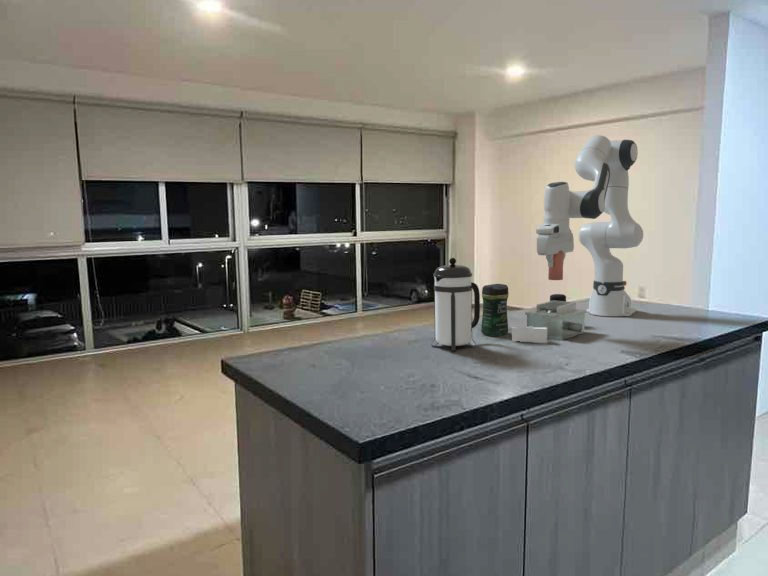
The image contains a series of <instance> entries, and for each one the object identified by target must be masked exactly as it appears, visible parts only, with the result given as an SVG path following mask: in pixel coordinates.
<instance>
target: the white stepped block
mask: <svg viewBox="0 0 768 576" xmlns="http://www.w3.org/2000/svg"><path fill="white" fill-rule="evenodd" d="M511 341H512V343H513V342H515V343H517V342H516V341H520V342H521V343H523V342H525V343H532V344H534V343H536V344H537V343H539V344H548V338H547V328H546V327H533V326H529V327H527V326H511Z"/></svg>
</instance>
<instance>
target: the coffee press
mask: <svg viewBox="0 0 768 576" xmlns="http://www.w3.org/2000/svg"><path fill="white" fill-rule="evenodd" d="M448 262H449V264H447V265H441V266H439V267H436V269H435V271H434V272H433V277H434V278H433V279H434V284H433V296H434V297H433V298H434V299H433V304H434V305H433V306H434V307H433V308H434V312H433V314H434V335H435V337H434V338H433V340H432V341H431V344H430V345H431V347H436V346H437V345H438V344H440V345H442V346H448V347H450V348H451V350H450V351H451V352H456V351H457V350H456V346H457V347H458V346H459V347H460V346H465V345H467V344H469V345H470V346H471V347H472V348H474V347H476V345H477V344H476V342H475V340H474V339H473V338H472V333H473V329H474V328H475V327H476V326H477V325H478V324H479V321H480V315H481V312H480V311H481V308H480V307H481V299H480V298H481V297H480V295H481V294H480V288H479V286H478V285H477V283H475V282H472V277H473V273H472V271H471V269H470V267H468V266H466V265H461V264H456V262H457V259H456V258H455V257H451V258H449V260H448ZM473 294H474V295H473ZM473 296H474V297H473ZM473 300H474V301H473ZM473 302H474V303H473ZM473 308H474V309H473ZM473 311H474V312H473ZM473 313H474V316H473ZM435 341H436V342H437V343H435V344H434V345H433V343H434V342H435ZM471 341H473V343H474V345H472V344H471V343H470V342H471Z"/></svg>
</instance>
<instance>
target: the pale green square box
mask: <svg viewBox="0 0 768 576" xmlns="http://www.w3.org/2000/svg"><path fill="white" fill-rule="evenodd" d="M576 307H577V304H576V302H571V301H566V302H565V301H555V300H553V301H550V300H549V301H546V302H542V303H538V304H536V309H533V310H529V311H526V312H524V313H525V315H526V327H529V326H533V327H546V328H547V339H548V338H549V339H554V340H559V341H560V340H561V341H563V340H565V339H566V340H567V339H569V338H572V337H575V336H577V335H580V334H583V333H585V316H586V315H585V314H586V313H587V311H586V310H585V309H579V308H578V309H577V308H576Z"/></svg>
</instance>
